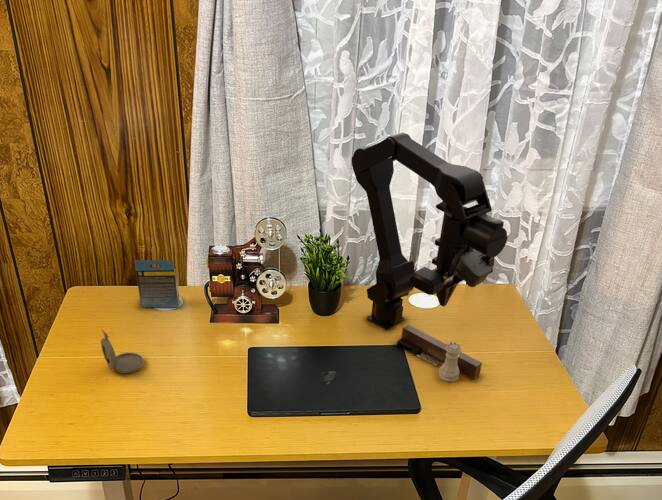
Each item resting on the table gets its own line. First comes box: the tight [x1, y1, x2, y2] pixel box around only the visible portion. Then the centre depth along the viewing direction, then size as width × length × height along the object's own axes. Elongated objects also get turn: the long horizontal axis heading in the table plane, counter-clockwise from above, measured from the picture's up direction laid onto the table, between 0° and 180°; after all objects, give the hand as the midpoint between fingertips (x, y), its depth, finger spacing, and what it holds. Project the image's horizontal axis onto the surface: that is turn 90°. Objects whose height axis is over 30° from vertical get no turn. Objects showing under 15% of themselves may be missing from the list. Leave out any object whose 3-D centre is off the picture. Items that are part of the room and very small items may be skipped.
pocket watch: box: [100, 328, 144, 374], centre depth 156 cm, size 8×8×10 cm
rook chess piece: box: [437, 341, 462, 383], centre depth 157 cm, size 4×4×8 cm
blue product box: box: [133, 259, 180, 309], centre depth 174 cm, size 9×4×12 cm, turn 93°
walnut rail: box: [400, 324, 483, 380], centre depth 163 cm, size 20×2×4 cm, turn 45°
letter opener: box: [396, 337, 441, 367], centre depth 165 cm, size 11×2×1 cm, turn 45°
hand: (442, 305), depth 158 cm, fingers closed
